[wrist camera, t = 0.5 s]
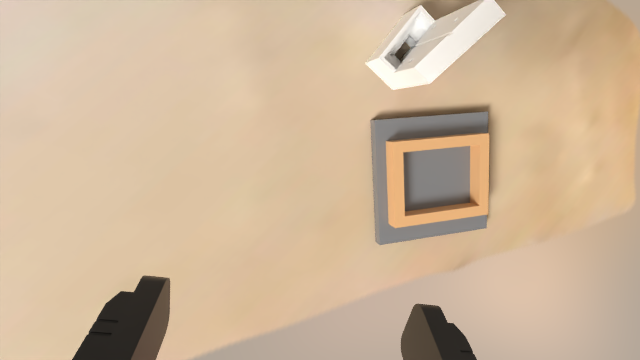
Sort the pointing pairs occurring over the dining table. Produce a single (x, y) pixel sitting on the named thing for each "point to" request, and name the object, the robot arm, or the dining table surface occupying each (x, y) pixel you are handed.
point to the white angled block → (431, 43)
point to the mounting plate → (430, 175)
